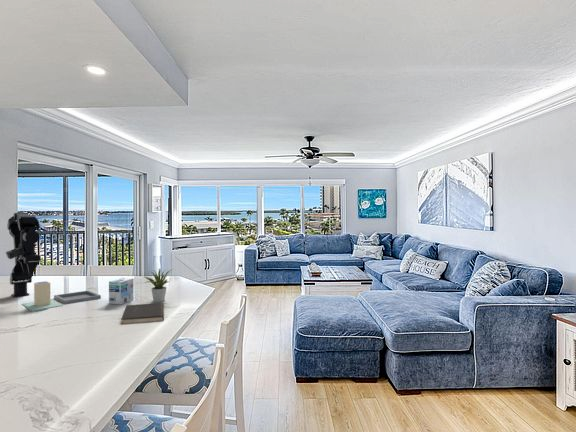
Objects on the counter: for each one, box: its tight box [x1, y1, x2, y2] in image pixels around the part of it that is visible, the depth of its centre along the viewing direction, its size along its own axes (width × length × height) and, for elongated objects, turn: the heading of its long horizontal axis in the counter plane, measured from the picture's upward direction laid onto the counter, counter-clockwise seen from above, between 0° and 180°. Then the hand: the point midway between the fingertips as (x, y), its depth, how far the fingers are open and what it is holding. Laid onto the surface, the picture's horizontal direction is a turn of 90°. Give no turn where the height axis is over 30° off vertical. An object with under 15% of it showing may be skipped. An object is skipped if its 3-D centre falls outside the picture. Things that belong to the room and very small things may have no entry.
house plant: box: [144, 268, 174, 303], centre depth 192 cm, size 14×14×16 cm
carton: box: [33, 280, 51, 306], centre depth 177 cm, size 5×5×10 cm
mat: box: [21, 298, 63, 313], centre depth 177 cm, size 16×12×1 cm
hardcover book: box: [120, 302, 165, 324], centre depth 165 cm, size 16×23×2 cm
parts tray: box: [53, 290, 102, 305], centre depth 191 cm, size 16×16×2 cm
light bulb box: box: [108, 277, 135, 305], centre depth 187 cm, size 11×7×11 cm, turn 168°
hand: (27, 274), depth 186 cm, fingers open, 9 cm apart
